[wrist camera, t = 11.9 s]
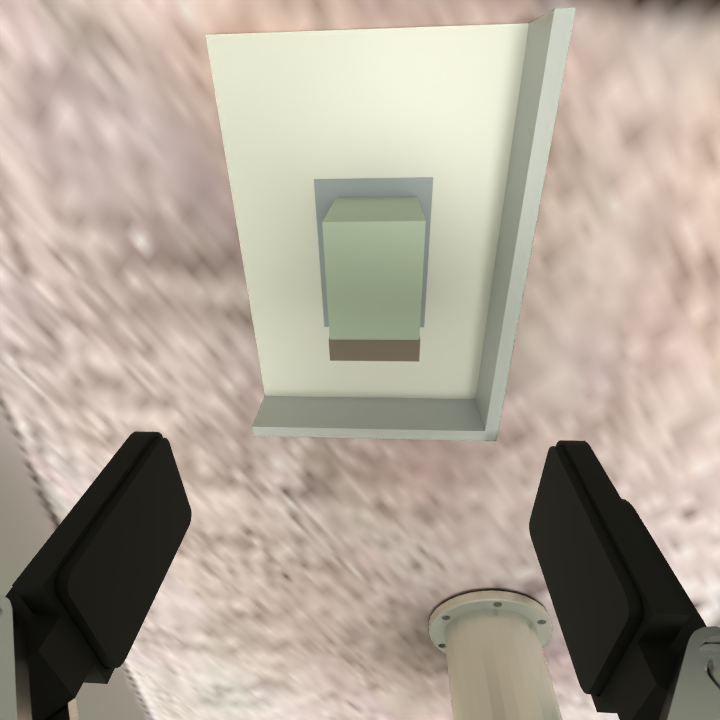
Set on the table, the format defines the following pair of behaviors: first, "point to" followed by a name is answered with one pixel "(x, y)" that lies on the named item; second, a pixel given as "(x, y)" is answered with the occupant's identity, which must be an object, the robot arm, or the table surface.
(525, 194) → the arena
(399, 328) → the block
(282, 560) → the table surface
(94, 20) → the table surface
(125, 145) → the table surface
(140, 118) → the table surface
